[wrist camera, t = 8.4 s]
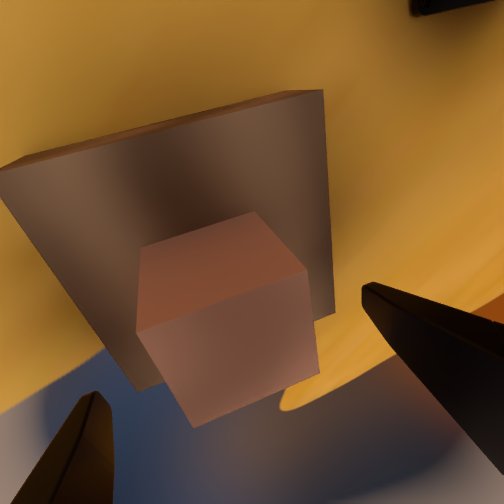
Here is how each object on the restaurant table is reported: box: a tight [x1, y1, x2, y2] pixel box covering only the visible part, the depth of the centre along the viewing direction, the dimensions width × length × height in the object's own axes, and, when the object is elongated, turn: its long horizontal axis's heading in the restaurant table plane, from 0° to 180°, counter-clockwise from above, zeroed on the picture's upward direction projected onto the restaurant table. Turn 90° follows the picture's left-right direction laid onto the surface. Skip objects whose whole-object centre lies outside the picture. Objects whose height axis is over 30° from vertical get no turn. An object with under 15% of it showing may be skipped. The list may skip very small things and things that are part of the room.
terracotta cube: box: [136, 211, 320, 428], centre depth 11 cm, size 5×5×5 cm
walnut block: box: [0, 89, 335, 392], centre depth 15 cm, size 12×12×4 cm
